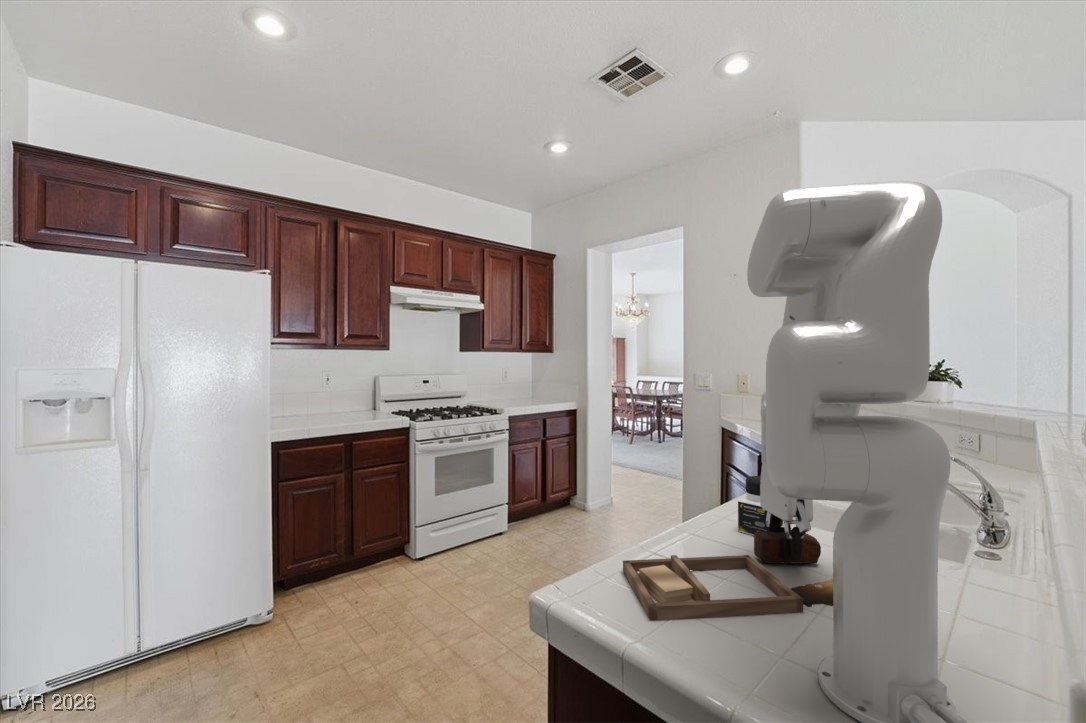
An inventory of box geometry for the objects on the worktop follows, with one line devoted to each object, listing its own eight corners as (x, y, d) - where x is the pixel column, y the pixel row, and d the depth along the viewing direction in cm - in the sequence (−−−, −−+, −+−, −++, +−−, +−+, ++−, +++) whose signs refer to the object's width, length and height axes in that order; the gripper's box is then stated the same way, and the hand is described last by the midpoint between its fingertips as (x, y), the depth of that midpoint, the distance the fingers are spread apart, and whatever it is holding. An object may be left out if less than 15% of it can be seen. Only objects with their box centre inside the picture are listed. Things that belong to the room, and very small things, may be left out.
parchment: (887, 568, 86) (887, 563, 86) (945, 593, 77) (945, 587, 77) (772, 588, 80) (772, 583, 80) (820, 617, 71) (820, 611, 71)
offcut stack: (695, 607, 74) (694, 588, 74) (666, 612, 72) (666, 593, 72) (661, 578, 83) (660, 561, 83) (635, 583, 82) (635, 565, 82)
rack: (803, 612, 71) (803, 592, 71) (650, 620, 69) (650, 600, 69) (748, 565, 87) (748, 549, 87) (622, 571, 85) (622, 555, 85)
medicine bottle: (737, 532, 105) (737, 477, 104) (751, 524, 109) (751, 472, 109) (771, 540, 99) (770, 483, 99) (784, 532, 104) (784, 477, 104)
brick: (762, 564, 87) (762, 538, 87) (753, 555, 91) (753, 530, 91) (821, 564, 87) (821, 538, 87) (809, 555, 91) (809, 531, 91)
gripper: (833, 465, 81) (834, 572, 81) (776, 447, 98) (777, 536, 98) (791, 466, 80) (792, 574, 80) (741, 448, 97) (742, 537, 97)
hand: (784, 552), depth 89 cm, fingers closed on brick, 4 cm apart
